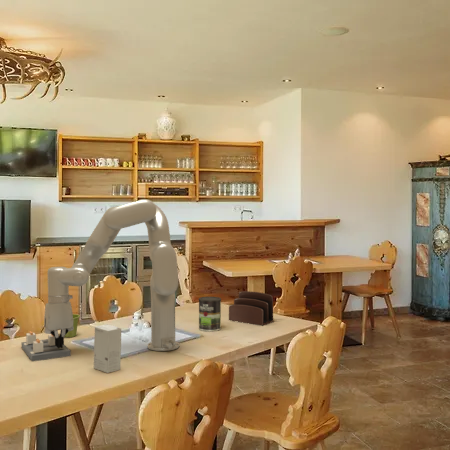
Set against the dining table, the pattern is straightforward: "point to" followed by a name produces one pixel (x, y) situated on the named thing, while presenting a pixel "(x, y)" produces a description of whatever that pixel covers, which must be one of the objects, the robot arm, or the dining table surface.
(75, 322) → the plant pot
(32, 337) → the tab
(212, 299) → the coffee can
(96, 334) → the skincare box
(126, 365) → the dining table surface
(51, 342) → the tab
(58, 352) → the switch bank
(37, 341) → the tab
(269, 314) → the letter holder
